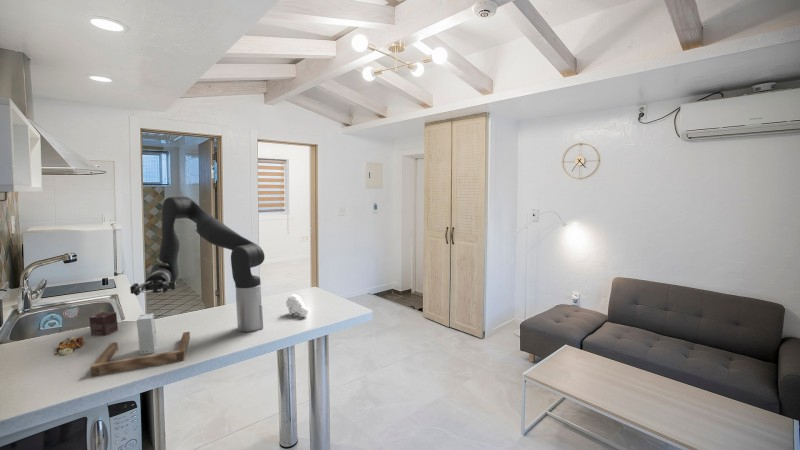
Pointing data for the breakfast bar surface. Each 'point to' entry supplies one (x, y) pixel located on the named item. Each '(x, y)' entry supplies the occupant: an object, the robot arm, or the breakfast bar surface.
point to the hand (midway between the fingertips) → (150, 291)
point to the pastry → (68, 345)
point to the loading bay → (137, 358)
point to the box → (103, 323)
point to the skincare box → (146, 333)
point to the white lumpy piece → (296, 305)
